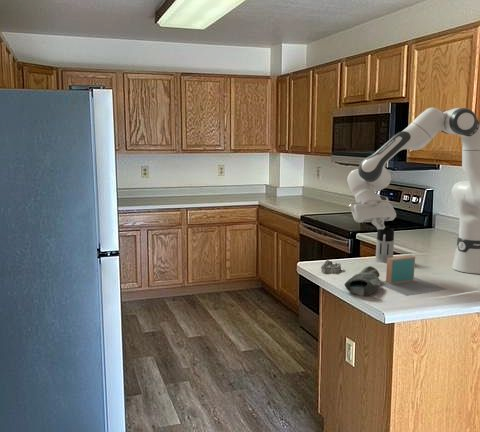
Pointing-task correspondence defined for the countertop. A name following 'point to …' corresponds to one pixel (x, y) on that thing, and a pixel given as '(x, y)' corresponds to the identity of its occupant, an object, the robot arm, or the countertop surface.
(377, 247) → the glass holder
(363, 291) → the detergent
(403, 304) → the countertop surface
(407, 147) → the robot arm
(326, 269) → the egg carton
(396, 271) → the tile
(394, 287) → the mat
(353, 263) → the countertop surface
